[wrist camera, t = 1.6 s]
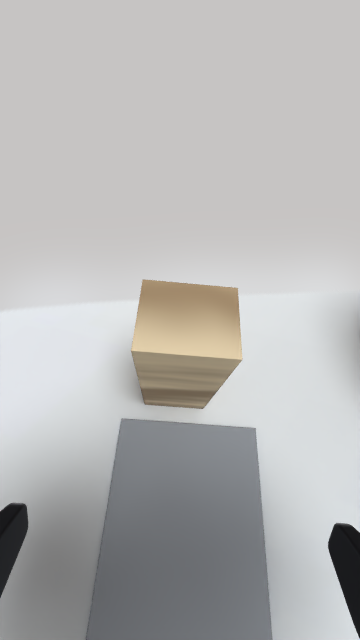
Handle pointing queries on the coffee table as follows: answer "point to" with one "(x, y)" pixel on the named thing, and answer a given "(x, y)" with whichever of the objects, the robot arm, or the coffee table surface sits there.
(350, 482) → the coffee table surface
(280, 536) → the coffee table surface
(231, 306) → the oak block
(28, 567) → the coffee table surface
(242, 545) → the slate mat
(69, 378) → the coffee table surface
